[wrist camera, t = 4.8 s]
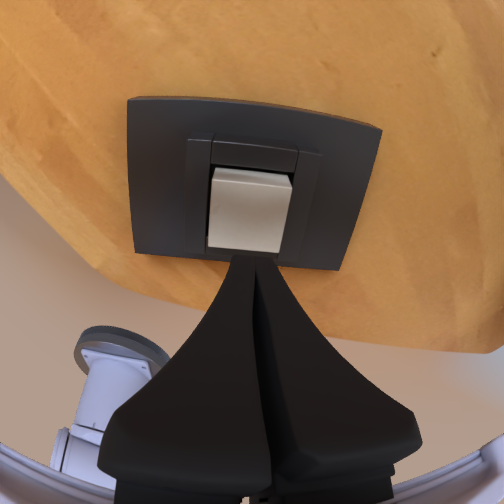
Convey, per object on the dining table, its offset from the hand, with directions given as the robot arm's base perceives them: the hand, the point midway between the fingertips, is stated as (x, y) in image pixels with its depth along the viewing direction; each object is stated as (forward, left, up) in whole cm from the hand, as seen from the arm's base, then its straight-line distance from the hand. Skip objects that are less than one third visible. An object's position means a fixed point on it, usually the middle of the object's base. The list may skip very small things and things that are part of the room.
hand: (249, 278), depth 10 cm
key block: (0, 0, -9) cm, 9 cm away
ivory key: (0, 0, -6) cm, 6 cm away
